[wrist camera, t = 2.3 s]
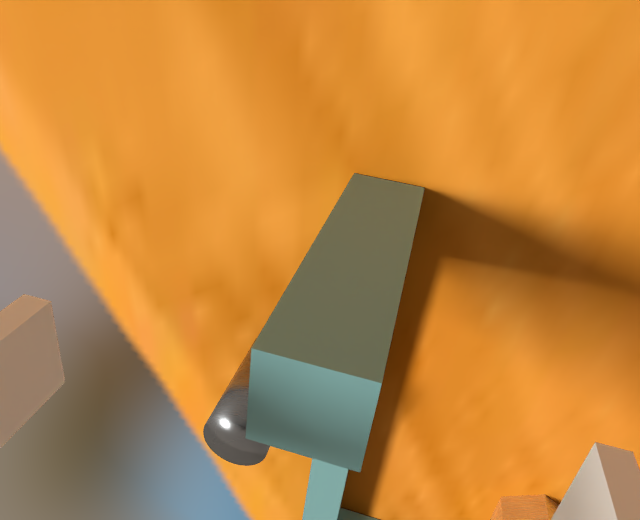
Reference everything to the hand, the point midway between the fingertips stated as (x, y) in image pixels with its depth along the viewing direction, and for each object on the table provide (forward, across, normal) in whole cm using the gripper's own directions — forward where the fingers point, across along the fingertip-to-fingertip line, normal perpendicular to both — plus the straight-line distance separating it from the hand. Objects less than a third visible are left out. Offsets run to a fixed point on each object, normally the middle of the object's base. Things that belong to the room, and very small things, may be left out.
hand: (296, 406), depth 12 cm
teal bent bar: (+12, +4, -10) cm, 16 cm away
